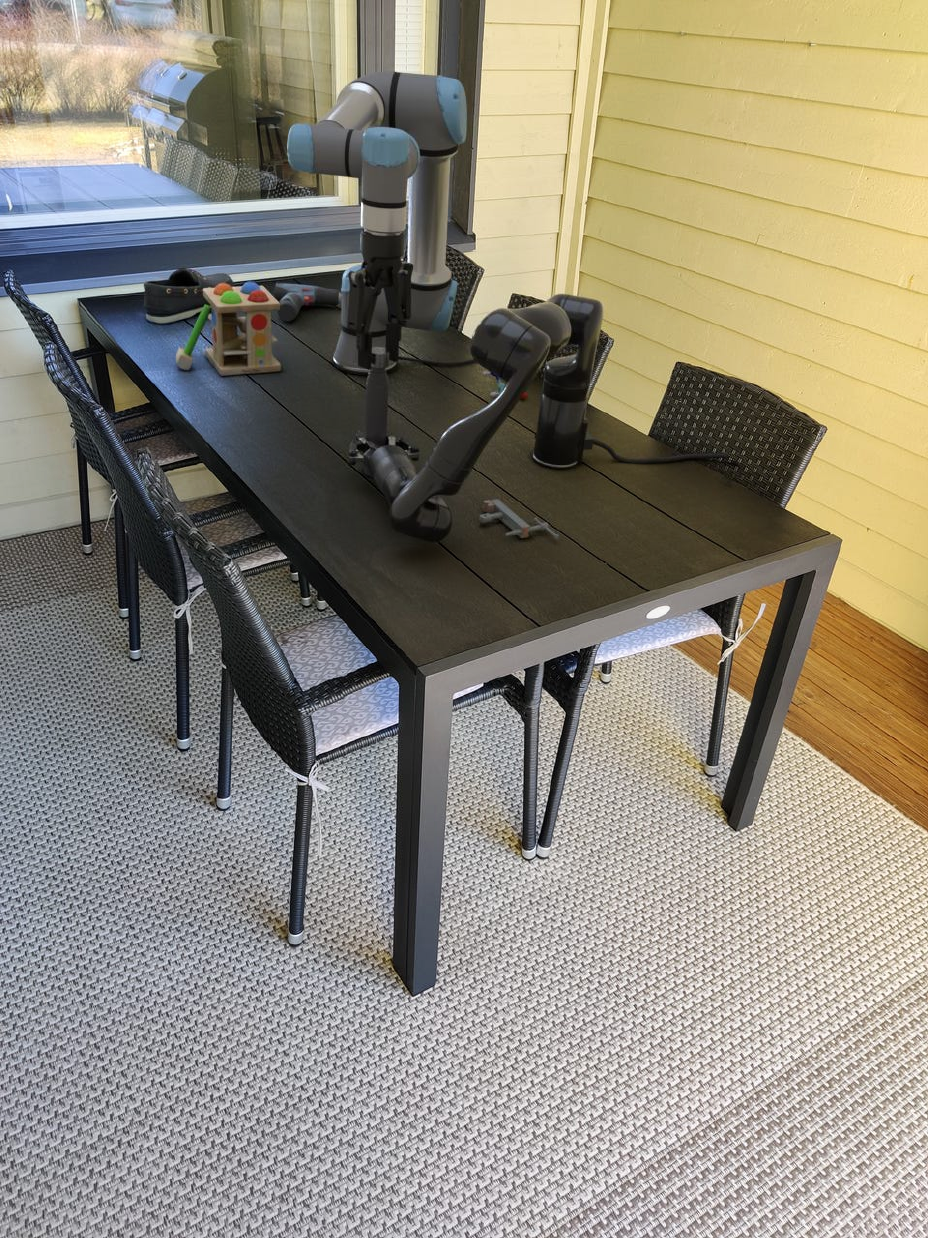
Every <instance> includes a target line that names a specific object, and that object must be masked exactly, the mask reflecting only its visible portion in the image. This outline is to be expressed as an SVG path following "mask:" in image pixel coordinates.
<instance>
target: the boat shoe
mask: <svg viewBox="0 0 928 1238" xmlns="http://www.w3.org/2000/svg"><path fill="white" fill-rule="evenodd" d="M221 283H226V284H228V285H230V286H231V287H235V283H234V280H233V279H232V278H231V276H230V275H229V274H227V273H224V272H223V273H222V272H221V273H214V274H208V275H205V276H204V275H203V274H201V273H200V272H199V271H197V270H195V269H191V268H187V267H180V268H177V269H176V270H174V271H173V272H172V273H171V274H170V275H169V277H167V278H166V279H161V280H147V281H144V282H143V288H144V289H143V290H144V304H143V308H144V309H145V310H146V311H145V316H146V317H145V318H146V320H147V321H149V322H151V323H155V324H169V323H174V322H178V321H180V320H184V319H188V318H191V317H194V315H196V314H197V313H201V311H202V309H203V307H204V305H208V306H210V307H211V305H210V304H209V302H208V301H207V300H206V299H205V297H204V296H203V289H204V288H215V287H216V286H217V285H218V284H221Z"/></svg>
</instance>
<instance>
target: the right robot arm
mask: <svg viewBox="0 0 928 1238" xmlns="http://www.w3.org/2000/svg"><path fill="white" fill-rule="evenodd" d="M603 320H604V306H603V303H602V302H601V300H599V299H595V298H591V297H590V298H589V297H585V296H579V295H574V294H569V293H557V294H554V295H552V296H550V297H549V298H547V300H546V301H543V302H539V303H534V304H532V305H529V306H526V307H521V308H508V307H507V308H506V307H500V308H497V309H494V310H492V311H491V312H489V313H488V314H487V315H486V316H485V317H484V318H482V320H481V321H480V322H479V324H478V325H477V326H476V328H475V329H474V331H473V334H472V336H471V339H470V345H469V349H470V355H471V357H472V359H474V360H475V362H476V363H477V364H479V366H480V367H482V368H484V369H485V370H486V371H487V372H492V373H493V374H495V375H496V376H498V377H499V379H500V380H502V381H504V382H505V383H504V384H505V386H504V388H503V389H502V391H501V392H500V391H499V392H500V393H499V394H498V395H497V396H496V397H493V399H492V400H491V401H490V402H489V403H487V404H485V405H484V406H482V407H481V408H480V409H477V410H476V411H474V412H472V413H470V414H469V415H467V416H465V417H463V418H461V419H459V420H458V421H455V422H454V423H453V424H451V425H450V426H449V427H448V428H447V429H445V430H444V431H443V433H442V434H441V435H440V437H439V438H438V440H437V442H436V443H435V444H434V447H433V448H432V451H431V452H430V454H429V456H428V458H427V460H426V462H425V464H424V466H423V467H422V468H421V469H420V471H419V472H418V469H417V467H416V466H415V464H414V463H413V462H419V460H420V447H419V446H417V445H416V444H414V443H413V442H412V441H410V440H408V439H407V438H405V437H403V436H401V437H400V436H399V438H396V437H395V436H393V434H392V432H390V431H387V436H386V445H383V446H379V445H376V444H375V443H374V442H373V441H368V440H367V439H366V436H365V432H364V431H363V430H358V431H357V433H356V434H355V439H352V440H351V442H350V445H349V450H348V465H349V466H355V465H356V463H363V466H364V465H366V466H367V467H368V468H369V470H370V473H371V475H372V479H373V480H374V483H375V485H376V486H377V487H378V490H379V491H380V493H382V495H383V496H384V497H385V499H386V500H387V503H388V504H389V506H390V507H389V510H388V523H389V525H390V528H391V529H392V530H393V531H394V532H396V533H398V534H401V535H404V536H407V537H410V538H414V539H417V540H420V541H424V542H427V543H439V542H442V541H443V540H444V539H446V538H447V537H448V535H449V534H450V532H451V531H452V527H453V515H452V511H451V509H450V507H449V505H448V504H447V502H446V501H445V500H444V499H443V498H442V497H441V496H443V497H444V496H446V497H451V496H455V495H457V494H458V493H459V492H460V491H461V489H462V488H463V486H464V485H465V482H466V481H467V479H468V477H469V475H470V474H471V472H472V470H473V468H474V466H475V465H476V463H477V462H478V459H480V456H481V455H482V453H483V452H484V449H485V448H486V447H487V445H488V444H489V443H490V441H491V440H492V439H493V437H494V436H495V434H496V433H497V431H498V430H499V429H500V428H501V426H502V425H503V423H504V422H505V421H506V420H507V418H508V417H509V415H510V414H511V412H512V411H513V410H514V409H515V407H516V406H517V404H518V403H519V401H520V400H521V399H522V398H521V397H522V395H523V394H524V393H526V392H527V390H528V388H530V386H531V384H532V383H533V381H534V380H535V379H536V377H537V375H538V373H539V372H540V371H541V369H542V367H543V365H544V364H545V361H546V360H548V359H550V358H552V359H550V360H549V361H547V363H546V364H545V366H544V372H543V379H542V386H541V387H542V388H541V395H540V403H539V410H538V417H537V418H538V419H537V423H536V424H537V426H536V432H535V434H534V438H533V440H534V446H533V452H532V459H533V461H535V462H536V463H537V464H538V465H540V466H542V467H546V468H550V469H555V470H556V469H557V470H565V469H571V468H574V467H577V465H582V462H583V456H584V451H588V450H589V451H590V450H593V446H594V445H595V446H598V447H600V448H602V449H604V450H606V451H607V452H608V454H610V456H611V457H612V458H613V459H614V460H615V461H618V462H619V463H624V464H636V465H637V464H641V465H643V464H644V465H645V464H654V463H671V462H676V461H682V460H692V459H695V460H697V459H699V460H700V459H701V460H702V459H703V460H706V459H724V460H728V461H730V462H732V463H733V464H734V466H738V467H741V466H742V465H741V463H740V461H739V460H738V461H739V462H738V461H733V460H729V459H727V455H728V454H727V453H719V452H718V453H717V452H716V453H687V454H680V455H674V456H668V457H667V456H665V457H650V458H638V459H637V458H626V457H623V456H621V455H618V454H617V453H616V452H615V451H614V450H613V448H612V447H611V446H609V445H608V444H606V443H605V442H603V441H600V440H598V439H595V438H593V437H592V435H590V434H589V433H588V431H587V430H588V424H589V420H588V418H586V413H587V405H588V400H589V393H590V388H591V387H590V386H591V382H592V376H593V375H592V374H593V370H594V365H595V364H594V363H595V358H596V353H597V347H598V343H599V340H600V339H599V338H600V335H601V330H602V326H603V325H602V324H603ZM566 347H571V348H576V349H577V352H576V353H574V354H571V355H568V356H561V357H555V358H553V357H554V356H557V355H558V354H559V353H561V352H562V351H563V350H564V349H565V348H566ZM726 454H727V455H726Z"/></svg>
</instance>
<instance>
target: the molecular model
mask: <svg viewBox="0 0 928 1238" xmlns="http://www.w3.org/2000/svg"><path fill="white" fill-rule="evenodd" d="M481 375H482V377H487V376H490V375H491V376H492V377H494V378H495V379H496V381H497V384H498V385H497V390H496V391H491V392H490V393H489V396H490V398H493V399H494V398H496V396H497V395H498V394H499V393H500V392H501V391H502V389H503V388H504V386H505V384H506V383H503V382H501V378H499V377H498V376H496V375H495V374H493V373H492V372H490V371H487V370H483V371H482V373H481ZM527 397H528V394H527V393H526V392H525V393H524V394H523V395H522V397H521V398H520V399H522V400H526V399H527Z"/></svg>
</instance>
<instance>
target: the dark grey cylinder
mask: <svg viewBox="0 0 928 1238" xmlns="http://www.w3.org/2000/svg"><path fill="white" fill-rule="evenodd" d="M389 384H390V383H389V377H388V373H386V370H385V368H374V367H371V369H370V372H369V375H367V378H366V385H365V417H364V419H365V420H364V435H365V436H366V439H367V440H368V441H373V442H374V443H375V444H376V445H379V446H383V445H386V436H387V432H388V412H389V411H388V410H389V406H388V405H389V386H390V385H389ZM363 473H364V474H365V475H366V476H368V477H372V475H371V473H370V470H369V468H368V467H367V466H366V465H364V464H363ZM372 478H373V477H372Z"/></svg>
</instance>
